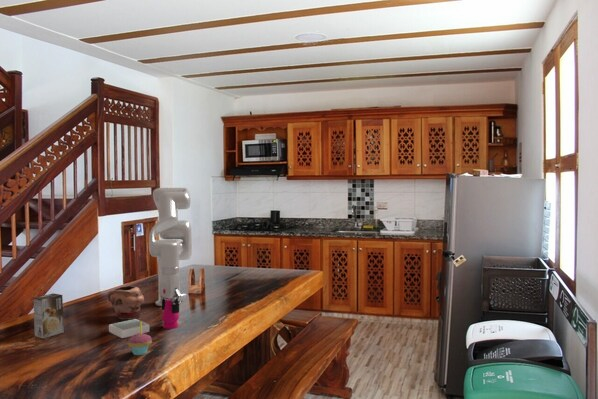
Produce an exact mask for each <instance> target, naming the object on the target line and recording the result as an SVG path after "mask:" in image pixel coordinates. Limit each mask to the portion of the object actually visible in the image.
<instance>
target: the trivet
mask: <svg viewBox="0 0 598 399" xmlns="http://www.w3.org/2000/svg"><path fill="white" fill-rule="evenodd" d="M140 322H142V334H147V333H149V332H150V324H149V323H147V322H144V321H142V320H139V319H137V318H134V319H128V320H124V321H121V322H114V323H111V324H108V332H109V333H111V334H113V335H115V336H116V337H118V338H121V339H124V338H130V337H132V336H133V335H135V334H140Z"/></svg>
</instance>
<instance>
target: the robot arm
mask: <svg viewBox="0 0 598 399" xmlns="http://www.w3.org/2000/svg"><path fill="white" fill-rule="evenodd" d="M152 198H153V202H154V204H155V207H156V208H157V211H158V213H157V214H158V221H157V222H156V223H155V224H154V225H152V226H153V227H152V228H151V230H150V232H149V234H148V235H149V237H148V250H149V255H151V257H153V258H154V257H155V258H157V266H158V267H157V268H158V269H157V272H158V274H157V275H158V300H156V301H155V305H156V306H158V307H161V310H162V311H164V309H165V303H166V302H165V299H164V298H168V299H172V303H173V304H172V314H175V313H179V314H180V305H181V303H182V300H181V299H183V298H186V297H187V293H181V286H180V284H181V283H180V275H179V274H180V263H179V262H180V261H186V260H189V259H191V257H192V254H193V253H192V252H193V250H192V245H193V244H192V243H193V242H192V226H191V223H190V222H189V221H188V220H179V214H178V210H188V209H189V208H190V206H191V195H190V190H188V188H186V187H159V188H154V190H152ZM157 235H159V238H161V239H156V238H157ZM180 240H181V241H180ZM163 289H165V290H166V291H165V294H164V293H163ZM174 296H175V297H174ZM174 299H175V300H174Z"/></svg>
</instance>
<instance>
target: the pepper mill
mask: <svg viewBox="0 0 598 399" xmlns="http://www.w3.org/2000/svg"><path fill="white" fill-rule="evenodd" d="M165 291H166V290H165V289H163V293H164V294H165ZM174 297H175V296H174ZM164 299H165V302H166V303H165V309H164V310H162V314H161V320H162V324H163V325H162V327H163V329H166V330H167V329H168V330H172V329H176V328H178V327H179V322H178V320H179V318H180V312H179V313H175V314H172V304H173V303H172V299H168V298H164ZM174 300H175V299H174Z"/></svg>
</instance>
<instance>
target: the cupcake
mask: <svg viewBox="0 0 598 399" xmlns="http://www.w3.org/2000/svg"><path fill="white" fill-rule="evenodd" d="M142 322H143V321H142ZM142 322H140V334H135V335H133V336H130V337H129V338H128V339H127V346H128V347H129V348H130V350H131V351H132V354H133V355H134V356H143V355H146V354H147V352H148V350H149V346H150V345H151V344H152V343H153V338H152V337H151V336H150V335H149V334H147V333H142Z"/></svg>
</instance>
